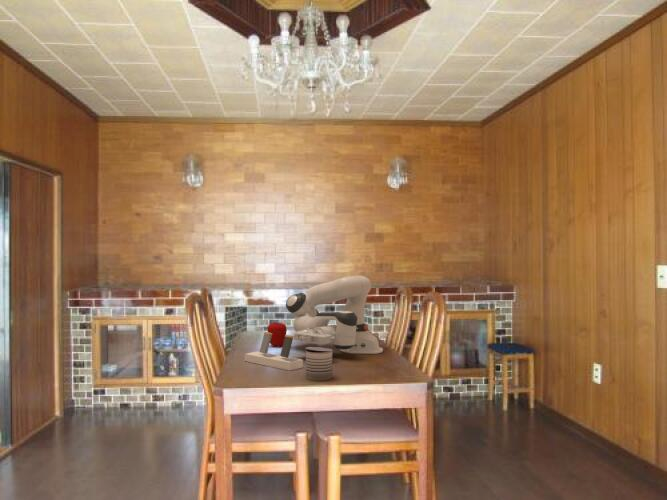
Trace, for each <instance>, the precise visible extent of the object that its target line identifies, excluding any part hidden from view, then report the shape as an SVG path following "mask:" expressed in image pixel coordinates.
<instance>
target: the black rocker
mask: <svg viewBox="0 0 667 500" xmlns="http://www.w3.org/2000/svg"><path fill="white" fill-rule="evenodd" d="M293 339H294V335H289V334H286V335H285V339H284V343H283V346H281V347H282V348H281V351H280V356H282V357H286V358H288V357H290V353H291V349H292V344H293Z"/></svg>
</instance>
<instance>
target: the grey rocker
mask: <svg viewBox="0 0 667 500" xmlns="http://www.w3.org/2000/svg"><path fill="white" fill-rule="evenodd" d="M271 336H272V333H270V332H268V331H263V337H262V341H261V344H260V348H259V351H258V352H260V353H265V354H267V353H268V351H269V348H270V345H271V344H270V340H271Z"/></svg>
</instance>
